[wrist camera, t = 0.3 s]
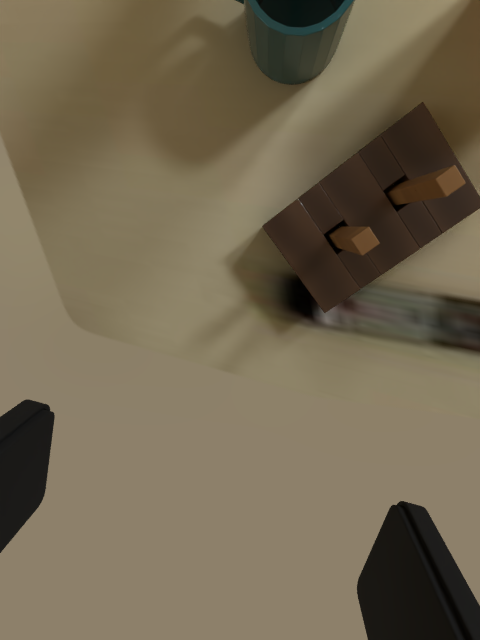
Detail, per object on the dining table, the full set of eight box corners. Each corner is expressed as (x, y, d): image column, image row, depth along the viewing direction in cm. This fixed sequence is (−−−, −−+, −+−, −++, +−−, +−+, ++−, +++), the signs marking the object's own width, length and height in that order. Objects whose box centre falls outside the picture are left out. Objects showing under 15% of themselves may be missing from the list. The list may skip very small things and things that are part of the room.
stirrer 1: (335, 226, 36) (368, 226, 24) (342, 237, 37) (380, 243, 24) (323, 234, 37) (350, 239, 24) (331, 245, 37) (362, 256, 24)
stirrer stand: (405, 115, 33) (423, 101, 30) (461, 207, 35) (485, 204, 31) (262, 226, 37) (262, 226, 33) (319, 304, 38) (324, 313, 35)
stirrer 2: (389, 186, 35) (455, 164, 22) (396, 198, 35) (466, 183, 23) (376, 195, 35) (434, 178, 23) (384, 207, 36) (446, 197, 23)
